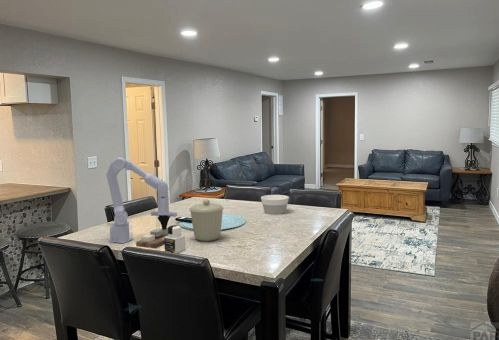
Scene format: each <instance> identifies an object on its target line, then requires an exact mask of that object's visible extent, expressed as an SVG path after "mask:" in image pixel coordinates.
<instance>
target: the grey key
mask: <svg viewBox="0 0 499 340" xmlns="http://www.w3.org/2000/svg"><path fill="white" fill-rule="evenodd" d="M149 233H150V234H149V235H155V237H158V236H161V235H163V230H159V229H156V228H155V229H153V230H150V232H149Z"/></svg>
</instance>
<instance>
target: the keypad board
mask: <svg viewBox="0 0 499 340" xmlns="http://www.w3.org/2000/svg"><path fill="white" fill-rule="evenodd" d="M180 235H182V233H181V234H180ZM166 236H169V235H168V234H167V235H161V236H158V237H155V240H153V241H151V242H143V241H142V239H140V240H137V241H136V243H135V244H136V247H143V248H149V247H151V248H152V249H158V248H160V247H162V246H165V245H164V237H166ZM157 247H158V248H157ZM151 248H150V249H151Z"/></svg>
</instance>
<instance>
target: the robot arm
mask: <svg viewBox="0 0 499 340" xmlns="http://www.w3.org/2000/svg"><path fill="white" fill-rule="evenodd" d="M123 170H125V171H131V172H133V173H134V174H137V175H138V176H140V177H141V178H142V179H143V181H144V183H146V185H149V187H151V188H153V189H156V192H157V211H151V212H150V216H151V217H153V216H154V217H157V220H158V221H159V223H160V226H161V229H163V230H165V229H167V228H168V223H169V220H170V218H171V217H172V218H173V217H174V218H176V217H177V216H178V213H177V212H174V211H170V206H169V205H170V203H169V202H170V201H169V200H170V198H169V192H168V191H169V189H170V188H169V186H168V184H167V182H166V181H164V180H163V179H160V178H159V177H157V176H156V174H155V173H152V172H151V173H149V172H146V171H145V170H144V169H142V168H141V167H139V166H138V165H137V164H135V162H132V161H131V160H128V159H126V158H125V157H123V156H117V157H116V158H114V159H113V160H112V162H111V163H110V165H109V167H108V169H107V172H106V179H107V184H108V187H109V192H110V196H111V200H112V204H113V212H114V218H113V222H114V223H112V224H111V225H110V227H109V238H110V239H109V241H108V242H110V243H119V244H125V243H128V242H131V241H132V240H134V238H133V237H130V224H129V221H128V217H129V214H128V212H127V211H126V209H125V206H124V203H123V198H122V194H121V191H120V190H121V189H120V185H119V181H118V174H119V173H120V172H121V171H123Z"/></svg>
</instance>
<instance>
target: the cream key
mask: <svg viewBox="0 0 499 340" xmlns="http://www.w3.org/2000/svg"><path fill="white" fill-rule="evenodd" d="M141 240H142V241H143V242H151V241H153V240H155V235H150V234H148V233H147V234H145V235H141Z"/></svg>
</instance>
